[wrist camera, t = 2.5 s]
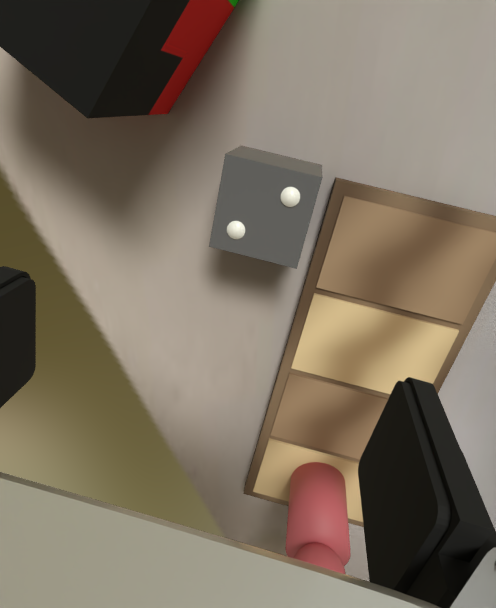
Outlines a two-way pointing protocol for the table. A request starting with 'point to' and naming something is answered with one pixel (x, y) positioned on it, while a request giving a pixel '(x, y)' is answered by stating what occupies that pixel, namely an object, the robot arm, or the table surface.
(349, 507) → the board
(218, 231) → the die
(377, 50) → the table surface
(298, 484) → the pawn
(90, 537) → the robot arm
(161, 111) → the puzzle toy
